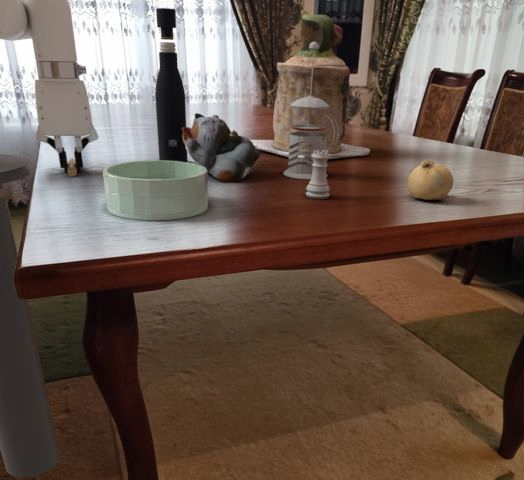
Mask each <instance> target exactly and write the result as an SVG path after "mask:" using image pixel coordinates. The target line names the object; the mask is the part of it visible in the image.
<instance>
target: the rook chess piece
mask: <svg viewBox="0 0 524 480" xmlns="http://www.w3.org/2000/svg"><path fill="white" fill-rule="evenodd" d="M316 151H317V152H316ZM311 157H312V158H313V160H314V163H313V164H312V166H313V172H312V177H311V179H310V181H309V182H308V184H307V185H306V189H305V190H306V192H305V195H306V197H307V198H309V199H314V200H324V199H328V198H329V196H330V193H329V191H330V186H329V184H328V179H327V177H326V174H327V167H328V166H329V165H328V164H327V163H328V161H329V160H330V159H329V155H328V151H326V152H325V150H322V152H320V150H314V153H313V155H312V156H311Z"/></svg>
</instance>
